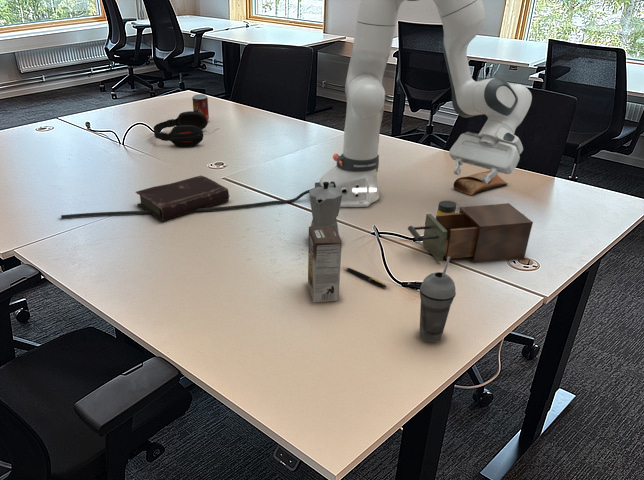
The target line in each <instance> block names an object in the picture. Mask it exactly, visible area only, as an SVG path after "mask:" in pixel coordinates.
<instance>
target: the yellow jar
mask: <svg viewBox="0 0 644 480" xmlns="http://www.w3.org/2000/svg"><path fill="white" fill-rule="evenodd" d="M457 206H458V204H457V203H456V202H455V201H453V200H441V201H438V205H437V213H436V215H441V214H453V213H457Z"/></svg>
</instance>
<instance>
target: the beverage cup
mask: <svg viewBox="0 0 644 480" xmlns="http://www.w3.org/2000/svg"><path fill="white" fill-rule="evenodd" d="M450 260H451V259H450V256H448V258H447V259H446V261H445V265H444V268H443V271H442V272H441V271H435V272H432V273H429V274H428V275H427V276H426V277H424V279H423V280H422V282H421V285H420V288H419V298H420V309H419V311H420V312H419V338H420V339H421V340H422V341H424V342H425V343H432V344H433V343H438V342H440V341H441V339H442V336H443V334H444V330H445V327H446V322H447V320H448V317H449V313H450V309H451V305H452V304H453V301H454V299H455V297H456V295H457V292H456V284H455V282H454V280H453V278H452V277H451V276H450V275H448V274H447V269H448V267H449V264H450Z"/></svg>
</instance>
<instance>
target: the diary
mask: <svg viewBox="0 0 644 480" xmlns="http://www.w3.org/2000/svg"><path fill="white" fill-rule="evenodd" d="M135 194H137V195H139V198H140V199H139V200H140V202H139V203H137V206H138V207H140V208H141V209H142V210H143V211H152V210H153V211H154V213H150V214H149V215H152V216H153V217H155V218H156V219H158V220H159V221H160V222H165V221H168V220H171V219H173V218H176V217H177V218H178V217H179V216H183V215H187V214H190V213H195V212H194V211H195V210H196V209H199V208H210V207H213V206H216V205H219V204H223V203H227V202H229V201H230V192H229V188H228V187H225V186H223V185H221V184H220V183H218V182H216V181H214V180H213V179H211V178H208V177H206V176H204V175H197V176H194V177H190V178H186V179H183V180H179V181H175V182H171V183H167V184H161V185H155V186H152V187H148V188H144V189H140V190H137V191H135Z"/></svg>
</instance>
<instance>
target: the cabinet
mask: <svg viewBox="0 0 644 480" xmlns="http://www.w3.org/2000/svg"><path fill="white" fill-rule="evenodd" d="M458 213H464V214H465V215H466V216H467V217H468V218H469V219H470V220H471V221H472V222H473V223H474V224H475V225H476V226H477V227H478V228H479V230H478V235H477V240H476V245H475V251H474V256H473V257H468V258H469V260H470V261H471V262H472V263H473V264H476V263H488V262H489V263H490V262H498V261H510V260H522V259H525V257H526V253H527V248H528V245H529V240H530V235H531V231H532V228H533V224H534V223H533V222H534V221H532V220H531V219H530V218H528V217H527V216H526V215H525V214H524V213H522V212H521V211H520V210H519V209H517V208H516V207H514V206H513V205H512V204H511V203H509V202H508V203H495V204H494V203H493V204H483V205H471V206H469V205H468V206H460V207H459V211H458Z"/></svg>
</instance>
